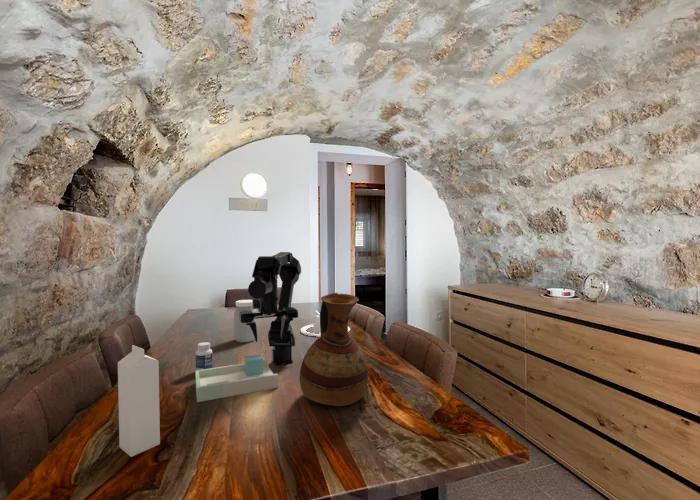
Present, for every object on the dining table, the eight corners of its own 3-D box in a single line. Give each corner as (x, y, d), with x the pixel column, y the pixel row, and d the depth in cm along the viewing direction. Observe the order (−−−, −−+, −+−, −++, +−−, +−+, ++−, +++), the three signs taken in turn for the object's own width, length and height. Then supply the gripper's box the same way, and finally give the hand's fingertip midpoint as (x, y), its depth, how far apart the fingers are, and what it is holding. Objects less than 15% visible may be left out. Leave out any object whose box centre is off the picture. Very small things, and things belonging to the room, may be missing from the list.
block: (260, 368, 119) (260, 354, 119) (263, 373, 114) (262, 358, 114) (244, 371, 117) (244, 356, 117) (247, 376, 112) (247, 360, 112)
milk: (147, 435, 82) (146, 341, 81) (160, 444, 78) (159, 346, 78) (118, 448, 77) (117, 347, 77) (130, 458, 73) (129, 352, 73)
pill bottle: (206, 375, 119) (206, 346, 119) (192, 373, 120) (191, 345, 120) (215, 369, 124) (215, 341, 124) (202, 368, 125) (201, 341, 125)
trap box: (267, 371, 122) (267, 359, 122) (278, 387, 108) (278, 374, 108) (195, 382, 112) (195, 370, 112) (196, 402, 99) (196, 388, 98)
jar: (247, 336, 168) (247, 298, 167) (261, 339, 162) (260, 300, 162) (229, 340, 160) (229, 301, 159) (243, 344, 154) (243, 303, 154)
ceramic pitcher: (315, 420, 88) (314, 301, 87) (290, 390, 106) (289, 291, 105) (381, 403, 97) (381, 295, 96) (348, 378, 115) (347, 287, 114)
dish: (294, 337, 167) (293, 313, 167) (308, 324, 191) (308, 304, 191) (345, 339, 163) (344, 314, 162) (353, 326, 187) (353, 305, 187)
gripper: (290, 289, 128) (290, 331, 129) (236, 292, 121) (237, 337, 121) (298, 293, 118) (298, 339, 119) (240, 297, 111) (241, 346, 111)
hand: (269, 340), depth 118 cm, fingers open, 8 cm apart
